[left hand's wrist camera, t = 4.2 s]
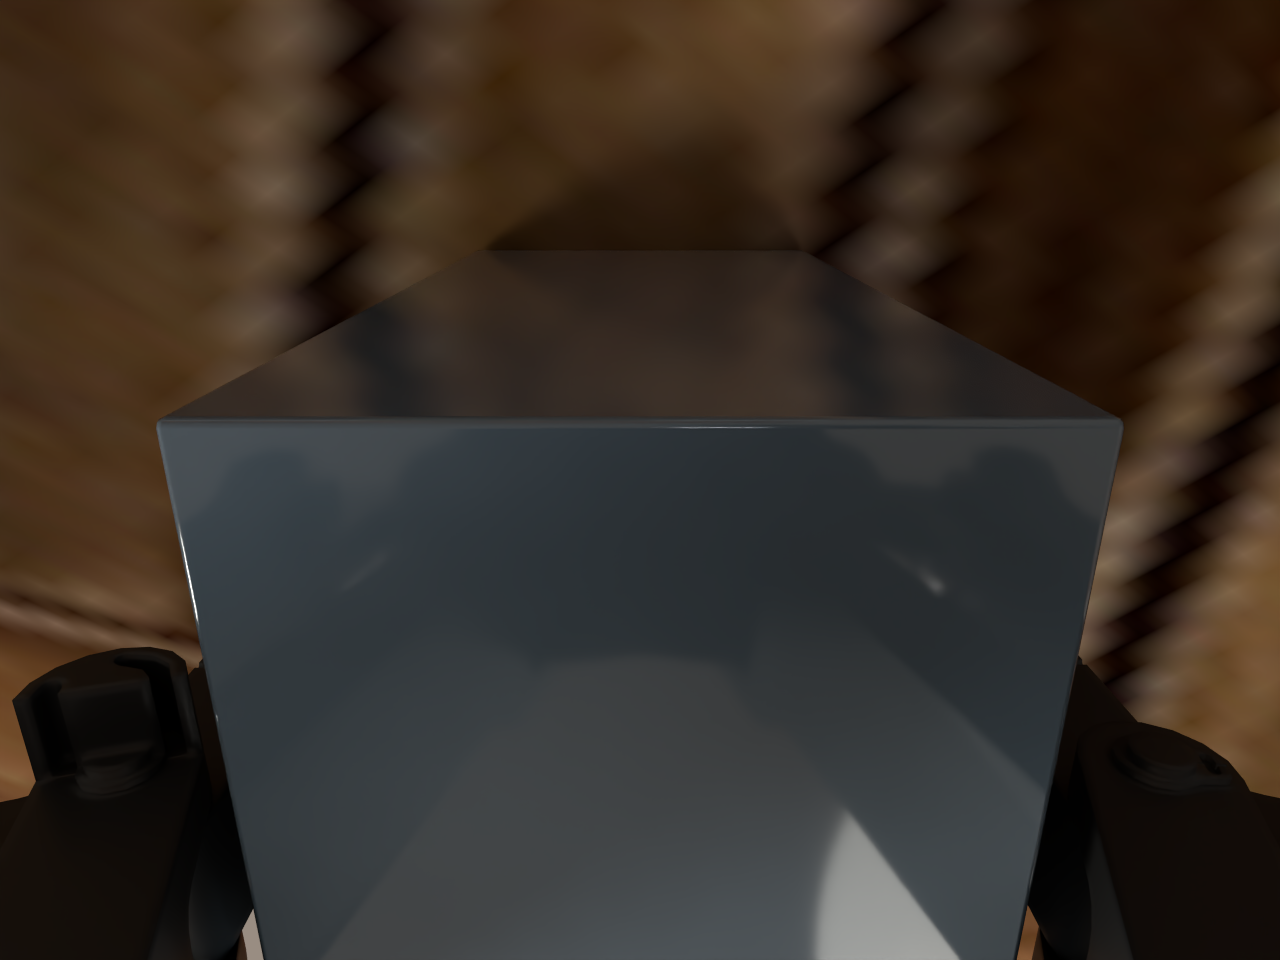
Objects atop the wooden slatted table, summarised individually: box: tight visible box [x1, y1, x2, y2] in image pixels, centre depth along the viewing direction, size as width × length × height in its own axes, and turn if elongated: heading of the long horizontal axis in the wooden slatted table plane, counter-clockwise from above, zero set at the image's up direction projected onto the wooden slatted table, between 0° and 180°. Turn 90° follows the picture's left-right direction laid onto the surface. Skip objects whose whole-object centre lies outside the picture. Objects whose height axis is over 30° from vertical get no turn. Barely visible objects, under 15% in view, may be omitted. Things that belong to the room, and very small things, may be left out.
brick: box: [156, 250, 1124, 960], centre depth 12 cm, size 9×6×11 cm, turn 0°
